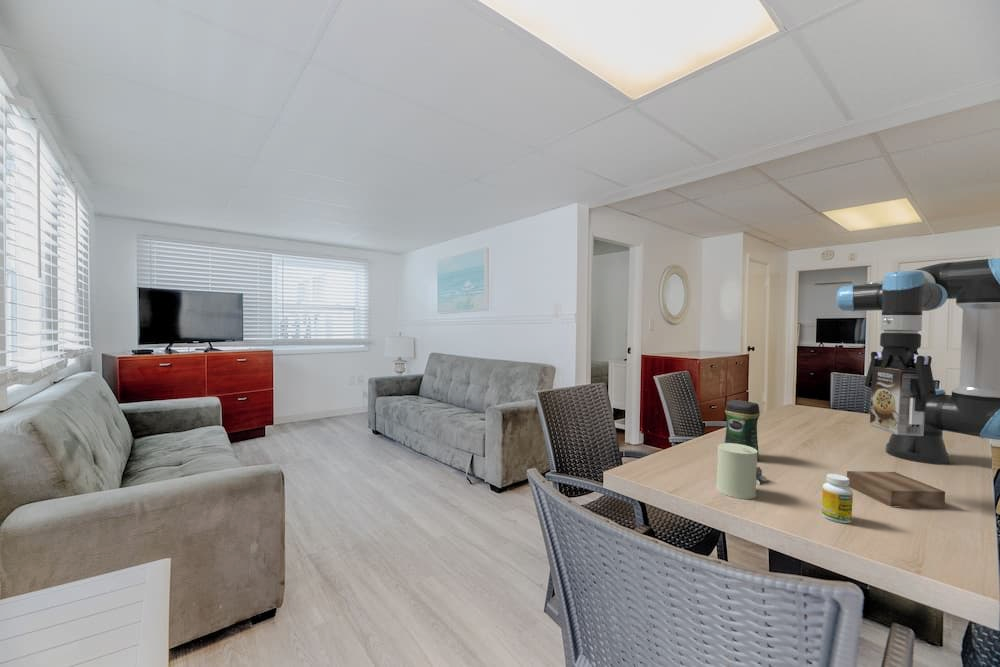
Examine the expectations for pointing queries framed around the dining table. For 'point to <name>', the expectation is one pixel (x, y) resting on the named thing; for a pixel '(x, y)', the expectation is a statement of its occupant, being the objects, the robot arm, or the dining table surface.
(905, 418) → the cookie box
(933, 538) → the dining table surface
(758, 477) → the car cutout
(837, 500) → the supplement bottle
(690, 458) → the dining table surface
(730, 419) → the coffee jar
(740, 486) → the can
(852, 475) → the walnut stand
